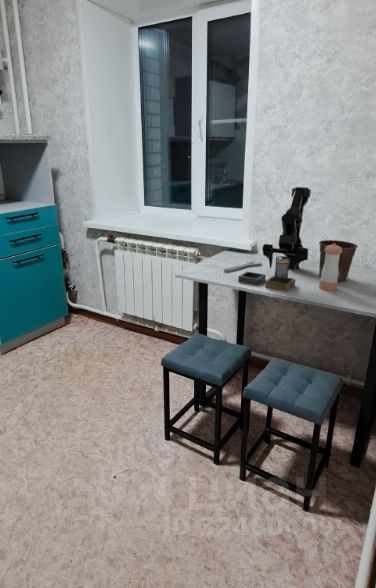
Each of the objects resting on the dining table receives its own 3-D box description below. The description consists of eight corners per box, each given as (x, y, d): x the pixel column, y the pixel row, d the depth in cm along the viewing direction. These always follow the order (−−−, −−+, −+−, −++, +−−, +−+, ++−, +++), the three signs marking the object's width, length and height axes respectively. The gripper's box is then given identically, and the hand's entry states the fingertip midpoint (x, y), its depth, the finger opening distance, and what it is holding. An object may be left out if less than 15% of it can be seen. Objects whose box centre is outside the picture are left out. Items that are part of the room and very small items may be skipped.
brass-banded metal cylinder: (281, 283, 174) (284, 255, 169) (289, 287, 169) (293, 258, 165) (270, 285, 171) (273, 256, 167) (279, 289, 166) (282, 260, 162)
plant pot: (354, 277, 185) (360, 242, 180) (348, 286, 172) (354, 249, 167) (319, 271, 193) (323, 238, 188) (310, 279, 180) (315, 244, 175)
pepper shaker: (315, 287, 169) (321, 243, 163) (323, 284, 174) (330, 241, 168) (331, 292, 164) (338, 246, 158) (339, 288, 169) (346, 244, 163)
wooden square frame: (273, 281, 176) (274, 275, 175) (294, 285, 171) (295, 278, 170) (265, 287, 168) (265, 280, 167) (287, 291, 164) (288, 284, 163)
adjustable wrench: (226, 274, 188) (227, 270, 187) (217, 270, 193) (218, 267, 192) (263, 265, 202) (263, 262, 202) (254, 263, 207) (254, 259, 206)
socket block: (246, 276, 183) (247, 271, 182) (265, 280, 178) (265, 274, 177) (238, 281, 175) (238, 276, 174) (257, 285, 171) (257, 279, 170)
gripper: (265, 225, 168) (257, 256, 162) (310, 228, 162) (304, 261, 156) (267, 240, 178) (259, 270, 172) (310, 244, 171) (304, 275, 165)
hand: (281, 269), depth 166 cm, fingers open, 9 cm apart
